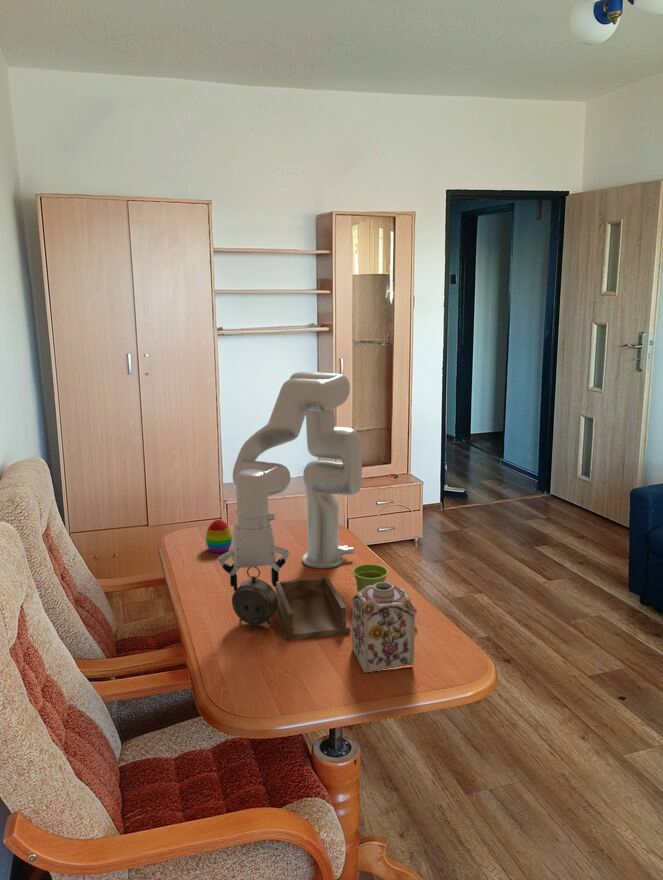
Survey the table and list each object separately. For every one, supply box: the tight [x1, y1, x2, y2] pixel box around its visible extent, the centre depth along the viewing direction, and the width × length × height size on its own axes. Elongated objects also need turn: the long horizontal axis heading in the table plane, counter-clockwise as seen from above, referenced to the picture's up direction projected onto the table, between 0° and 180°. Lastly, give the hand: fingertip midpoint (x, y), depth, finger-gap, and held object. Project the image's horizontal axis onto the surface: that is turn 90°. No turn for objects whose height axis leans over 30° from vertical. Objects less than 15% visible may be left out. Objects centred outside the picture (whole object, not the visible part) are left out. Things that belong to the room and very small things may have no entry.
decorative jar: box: [351, 581, 416, 674], centre depth 163 cm, size 12×12×18 cm
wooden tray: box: [274, 576, 351, 642], centre depth 183 cm, size 16×20×6 cm
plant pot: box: [352, 563, 389, 593], centre depth 193 cm, size 9×9×9 cm
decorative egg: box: [205, 519, 233, 554], centre depth 228 cm, size 8×8×10 cm
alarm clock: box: [231, 566, 278, 631], centre depth 178 cm, size 11×5×16 cm, turn 71°
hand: (254, 586), depth 177 cm, fingers open, 9 cm apart
